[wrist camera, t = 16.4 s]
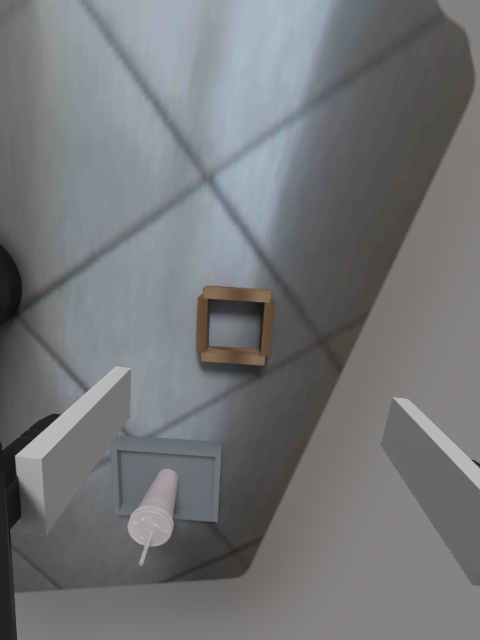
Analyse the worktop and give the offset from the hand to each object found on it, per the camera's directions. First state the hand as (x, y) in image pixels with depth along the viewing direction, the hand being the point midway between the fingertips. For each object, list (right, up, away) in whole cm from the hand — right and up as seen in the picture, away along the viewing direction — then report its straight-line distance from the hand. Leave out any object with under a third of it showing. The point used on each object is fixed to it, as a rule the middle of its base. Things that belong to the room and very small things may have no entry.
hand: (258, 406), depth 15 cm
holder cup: (-2, +4, +31) cm, 31 cm away
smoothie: (-13, -23, +37) cm, 45 cm away
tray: (-13, -23, +38) cm, 46 cm away
